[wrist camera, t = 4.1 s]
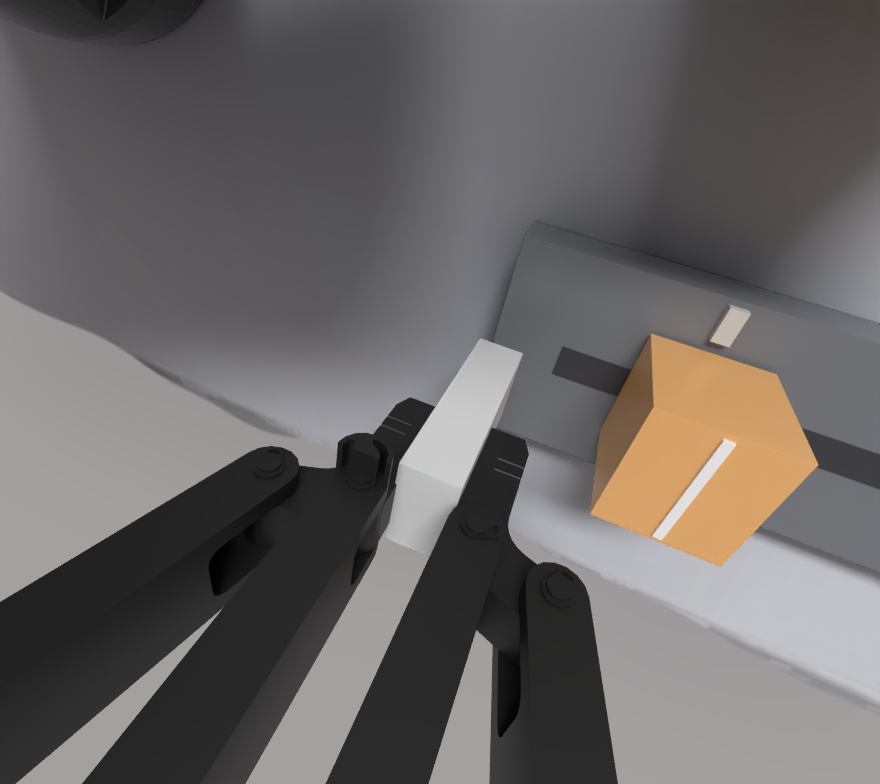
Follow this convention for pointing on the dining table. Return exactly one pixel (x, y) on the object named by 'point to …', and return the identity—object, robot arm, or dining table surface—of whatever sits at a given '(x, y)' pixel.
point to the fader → (697, 451)
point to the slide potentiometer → (706, 328)
